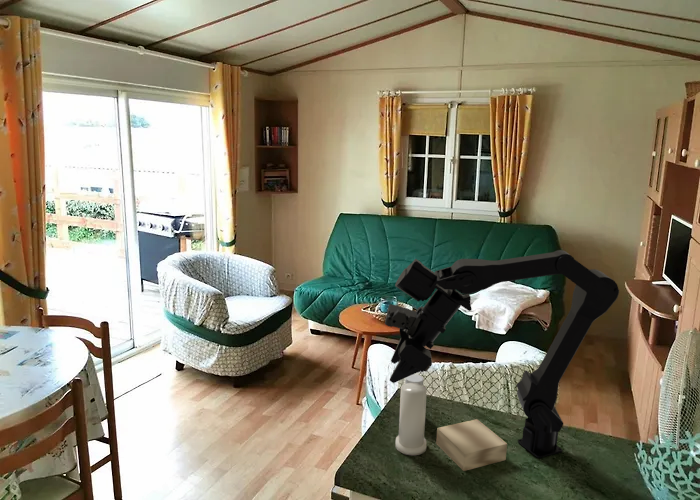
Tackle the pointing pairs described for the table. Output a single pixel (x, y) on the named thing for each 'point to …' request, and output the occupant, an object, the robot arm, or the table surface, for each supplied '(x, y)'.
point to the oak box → (471, 444)
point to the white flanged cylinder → (412, 419)
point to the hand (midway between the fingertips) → (392, 371)
